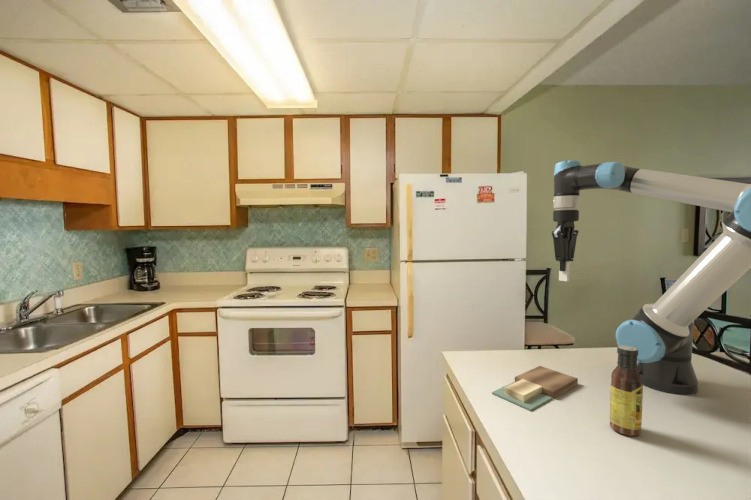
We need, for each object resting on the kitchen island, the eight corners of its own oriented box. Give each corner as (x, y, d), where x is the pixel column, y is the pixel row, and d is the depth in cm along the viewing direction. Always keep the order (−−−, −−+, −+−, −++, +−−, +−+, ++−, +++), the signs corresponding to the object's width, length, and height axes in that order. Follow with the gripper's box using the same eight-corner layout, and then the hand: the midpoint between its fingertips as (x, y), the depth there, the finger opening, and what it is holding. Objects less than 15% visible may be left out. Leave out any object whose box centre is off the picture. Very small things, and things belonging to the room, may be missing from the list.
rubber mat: (551, 399, 101) (552, 397, 101) (530, 411, 95) (530, 409, 95) (513, 383, 111) (513, 382, 111) (492, 393, 105) (492, 392, 105)
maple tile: (541, 393, 104) (542, 386, 104) (523, 402, 99) (523, 395, 98) (522, 385, 109) (522, 378, 108) (504, 394, 103) (504, 387, 103)
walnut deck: (577, 384, 109) (577, 378, 109) (552, 398, 101) (553, 391, 101) (539, 371, 119) (540, 365, 119) (514, 383, 111) (514, 377, 111)
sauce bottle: (642, 440, 82) (646, 355, 80) (609, 432, 85) (612, 350, 83) (639, 426, 87) (643, 346, 86) (608, 419, 91) (611, 341, 89)
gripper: (564, 209, 126) (562, 277, 128) (544, 209, 118) (542, 281, 120) (587, 209, 120) (585, 279, 122) (567, 208, 112) (565, 284, 114)
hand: (564, 280), depth 121 cm, fingers closed
